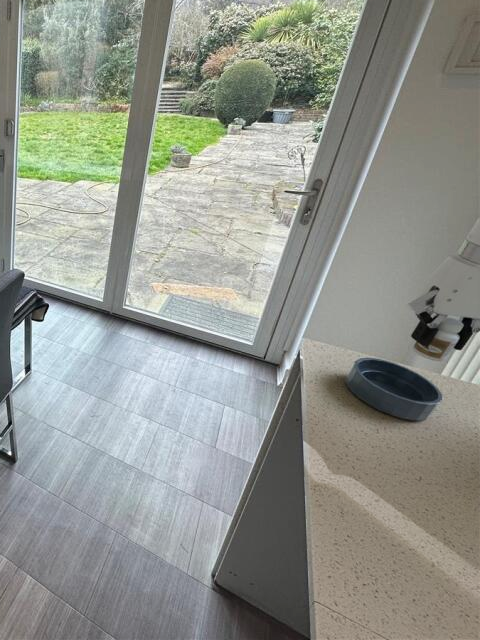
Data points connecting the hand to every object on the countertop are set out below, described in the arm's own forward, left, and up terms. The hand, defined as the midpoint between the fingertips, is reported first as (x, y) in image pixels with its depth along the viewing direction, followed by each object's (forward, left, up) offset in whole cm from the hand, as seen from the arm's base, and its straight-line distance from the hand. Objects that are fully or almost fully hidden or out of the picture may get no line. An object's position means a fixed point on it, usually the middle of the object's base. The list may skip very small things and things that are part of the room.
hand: (435, 342), depth 76 cm
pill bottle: (0, 0, -3) cm, 3 cm away
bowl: (-1, -3, -17) cm, 17 cm away
